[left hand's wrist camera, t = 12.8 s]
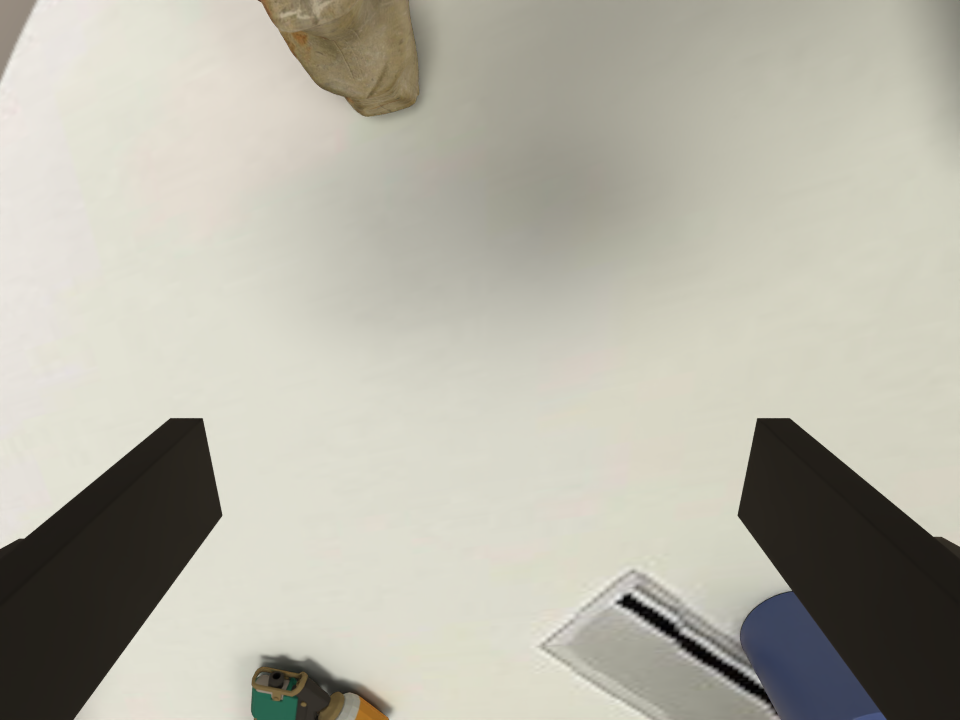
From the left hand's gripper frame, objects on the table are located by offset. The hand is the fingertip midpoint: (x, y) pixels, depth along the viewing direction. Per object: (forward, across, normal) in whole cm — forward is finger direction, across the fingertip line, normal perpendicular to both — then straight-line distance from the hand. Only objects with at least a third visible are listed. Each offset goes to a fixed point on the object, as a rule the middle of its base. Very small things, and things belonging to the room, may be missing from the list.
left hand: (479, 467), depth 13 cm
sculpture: (+25, -6, +13) cm, 29 cm away
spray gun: (+25, -16, -44) cm, 54 cm away
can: (+25, +28, -32) cm, 49 cm away
